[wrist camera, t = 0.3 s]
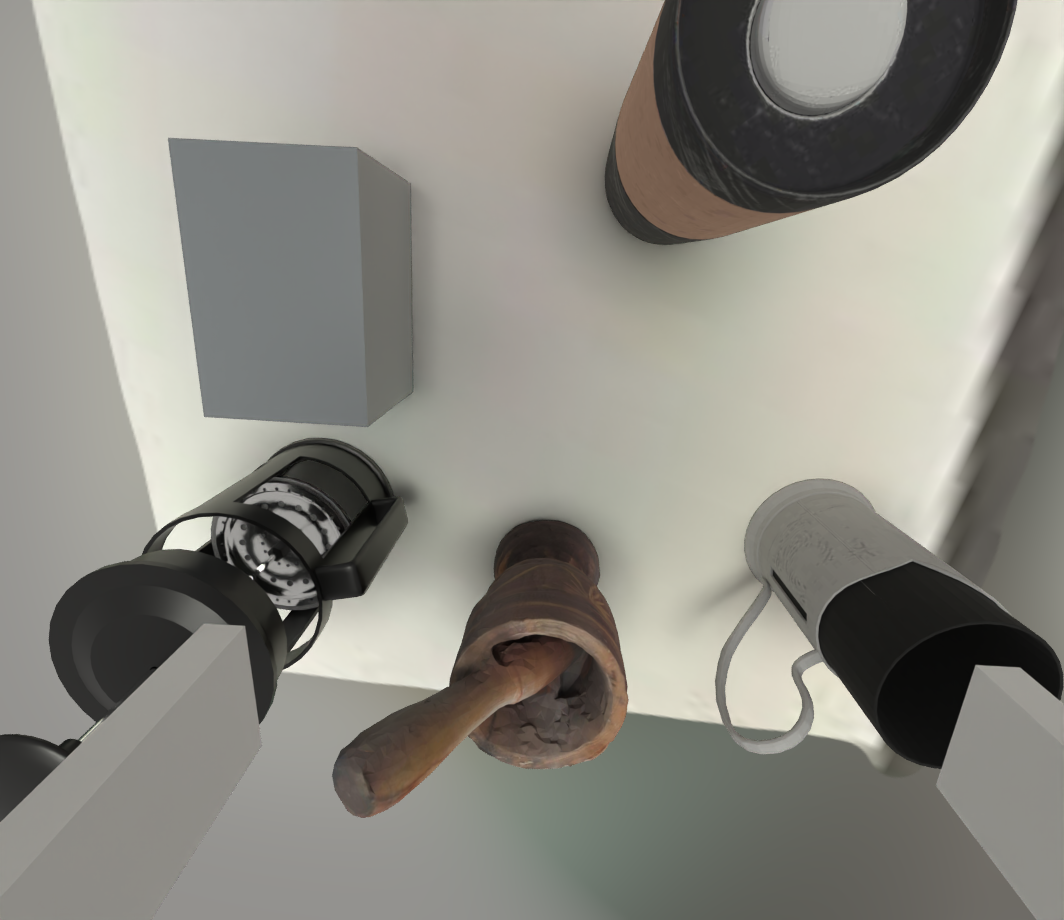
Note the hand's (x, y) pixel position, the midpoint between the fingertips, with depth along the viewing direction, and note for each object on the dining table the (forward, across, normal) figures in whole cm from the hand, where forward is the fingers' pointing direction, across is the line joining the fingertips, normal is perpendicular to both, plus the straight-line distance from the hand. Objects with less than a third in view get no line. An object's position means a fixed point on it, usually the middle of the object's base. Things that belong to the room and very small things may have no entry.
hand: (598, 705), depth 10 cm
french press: (+26, -16, -8) cm, 32 cm away
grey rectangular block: (+26, -14, +6) cm, 30 cm away
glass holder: (+26, +14, -10) cm, 32 cm away
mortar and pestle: (+26, -3, -12) cm, 29 cm away
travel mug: (+27, +5, +13) cm, 30 cm away
